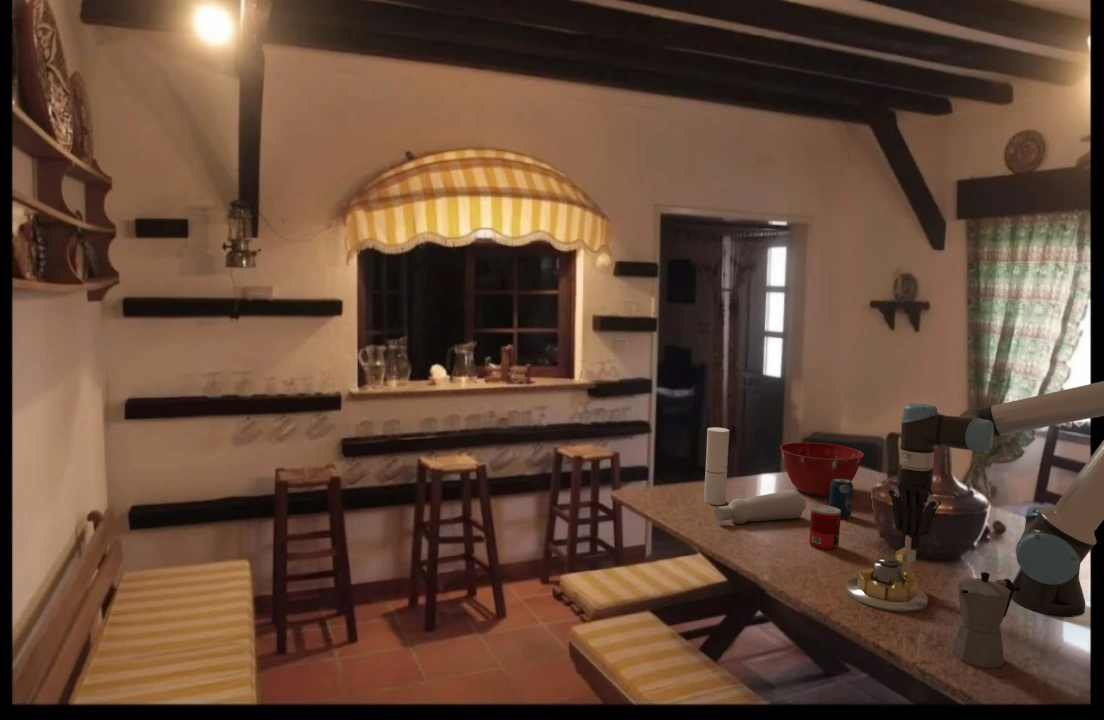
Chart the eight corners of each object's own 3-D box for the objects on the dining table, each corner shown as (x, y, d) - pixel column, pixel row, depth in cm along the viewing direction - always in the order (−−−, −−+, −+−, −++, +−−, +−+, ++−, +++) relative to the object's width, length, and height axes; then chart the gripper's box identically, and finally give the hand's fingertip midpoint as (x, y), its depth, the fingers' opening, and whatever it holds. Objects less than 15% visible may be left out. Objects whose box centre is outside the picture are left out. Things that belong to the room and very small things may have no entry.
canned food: (840, 552, 215) (843, 514, 214) (810, 549, 217) (813, 511, 216) (836, 542, 223) (838, 506, 221) (807, 540, 224) (809, 503, 223)
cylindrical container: (728, 501, 262) (732, 429, 259) (721, 506, 256) (724, 432, 253) (708, 497, 266) (712, 426, 263) (700, 502, 260) (704, 429, 257)
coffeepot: (976, 674, 149) (984, 586, 147) (934, 652, 158) (942, 568, 156) (1028, 660, 155) (1037, 575, 153) (986, 639, 164) (993, 558, 162)
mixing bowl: (765, 481, 289) (767, 441, 288) (837, 480, 293) (840, 441, 291) (797, 503, 262) (800, 459, 260) (876, 502, 265) (879, 459, 263)
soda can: (850, 520, 244) (853, 483, 243) (827, 517, 246) (830, 481, 245) (851, 514, 250) (853, 478, 249) (828, 511, 253) (831, 476, 252)
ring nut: (930, 586, 188) (933, 555, 188) (901, 605, 177) (904, 573, 176) (880, 571, 197) (882, 542, 197) (849, 588, 186) (852, 557, 185)
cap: (942, 601, 183) (945, 565, 182) (899, 618, 173) (902, 580, 172) (873, 576, 198) (876, 542, 197) (831, 590, 188) (833, 555, 187)
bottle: (785, 501, 252) (707, 511, 242) (796, 482, 247) (716, 492, 236) (800, 523, 246) (720, 535, 235) (811, 504, 240) (730, 516, 230)
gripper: (883, 463, 190) (877, 555, 192) (930, 474, 179) (923, 572, 181) (902, 460, 194) (896, 550, 196) (950, 471, 183) (943, 567, 185)
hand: (909, 561), depth 189 cm, fingers closed
